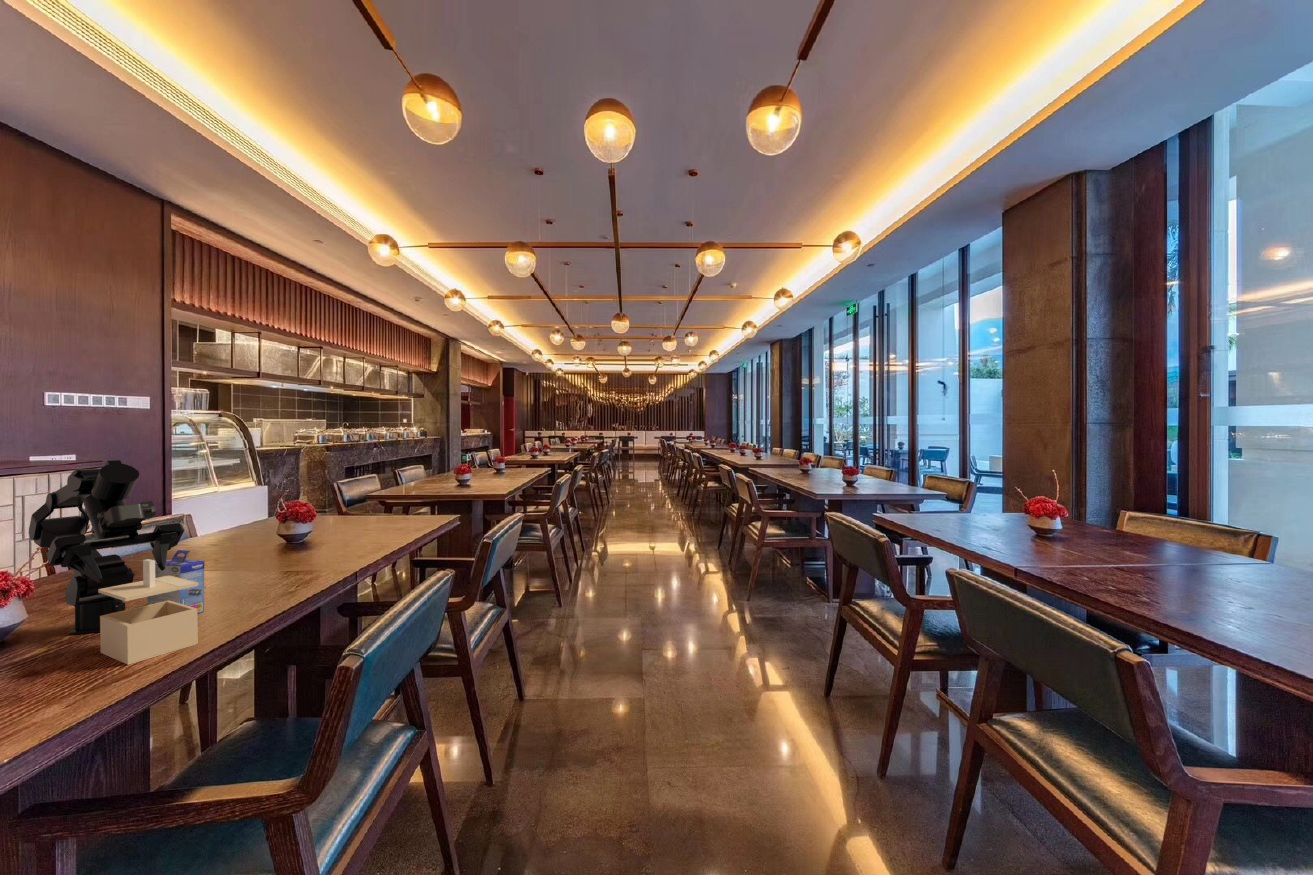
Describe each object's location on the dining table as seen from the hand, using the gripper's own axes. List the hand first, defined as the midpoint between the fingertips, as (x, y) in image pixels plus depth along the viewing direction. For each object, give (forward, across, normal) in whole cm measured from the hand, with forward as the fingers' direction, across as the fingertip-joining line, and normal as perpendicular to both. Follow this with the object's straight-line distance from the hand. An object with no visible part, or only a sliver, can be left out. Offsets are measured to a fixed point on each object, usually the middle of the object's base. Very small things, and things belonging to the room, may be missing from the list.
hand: (133, 574), depth 101 cm
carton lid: (+6, 0, -4) cm, 7 cm away
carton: (+15, 0, +4) cm, 15 cm away
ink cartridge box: (+1, +11, +19) cm, 22 cm away
